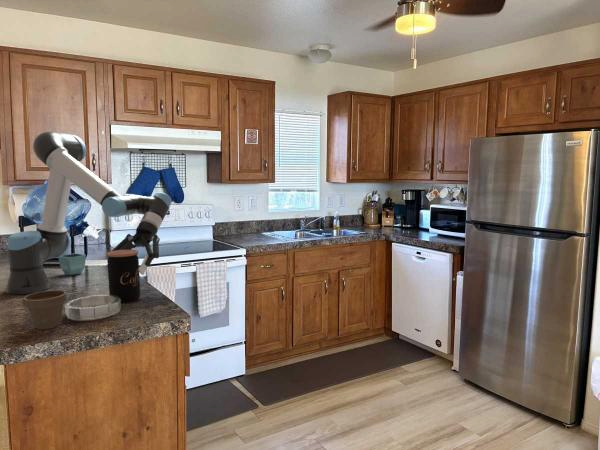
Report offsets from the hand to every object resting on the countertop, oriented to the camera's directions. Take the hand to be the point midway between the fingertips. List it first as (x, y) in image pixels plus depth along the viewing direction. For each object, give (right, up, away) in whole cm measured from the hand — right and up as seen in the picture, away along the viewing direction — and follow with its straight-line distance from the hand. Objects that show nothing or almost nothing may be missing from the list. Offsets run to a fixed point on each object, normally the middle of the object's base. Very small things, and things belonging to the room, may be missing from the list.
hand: (125, 271), depth 169 cm
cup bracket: (-5, -12, -14) cm, 20 cm away
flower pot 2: (-42, -6, +48) cm, 64 cm away
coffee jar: (0, -11, +1) cm, 11 cm away
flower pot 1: (-13, -14, -28) cm, 34 cm away
